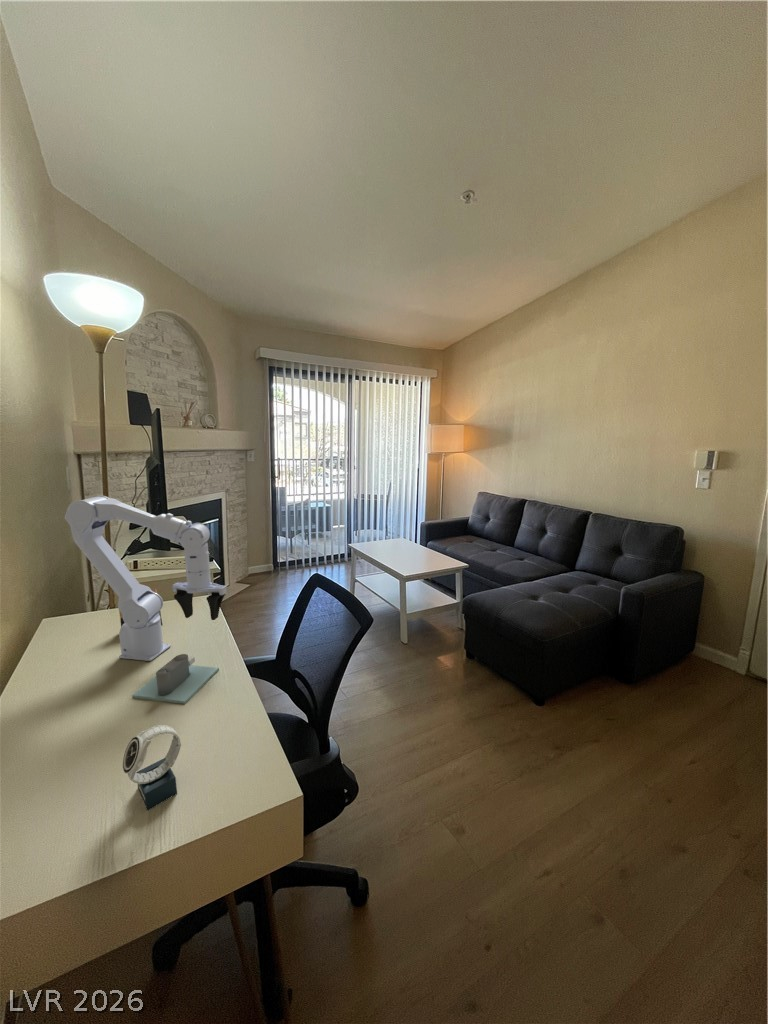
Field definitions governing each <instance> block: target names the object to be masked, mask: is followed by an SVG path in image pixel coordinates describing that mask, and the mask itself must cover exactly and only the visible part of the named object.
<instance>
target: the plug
mask: <svg viewBox="0 0 768 1024" xmlns="http://www.w3.org/2000/svg"><path fill="white" fill-rule="evenodd" d="M195 661H196V660H195V656H189V655H188V654H187V653H181V654H178V655H175V657H173V658H171V660H169V661H168V662H166V664H164V665H163V666H162V667H160V668H159V669H158V670H156V672H155V676H156V680H157V689H158V695H159V696H166V695H168V694H170V693H172V692H173V691H174V690H175V689H176V688H177V687H178V686H179V685H180V684H181V683H182V682H183V681H185V680H186V679H187V678H188V677H189V676H190V673H189V666H190V665H193V664H194V663H195Z"/></svg>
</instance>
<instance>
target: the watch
mask: <svg viewBox="0 0 768 1024" xmlns="http://www.w3.org/2000/svg"><path fill="white" fill-rule="evenodd" d="M165 734H169V735H172V739H171V743H170V747H169V749H168V751H167V753H166V755H165V757H164V758H161V759H159V760H158V761H156V762H153V763H151V764H150V765H148V766H146V767H144V768H142V767H143V765H144V762H145V759H146V757H147V753H148V748H149V745H150V744H151V741H152V739H153V738H155V737H157V736H160V735H165ZM181 747H182V742H181V739H180V736H179V735H178V733H177V731H176V730H175V729H174V727H172V726H170V725H167V724H158V725H154V726H151V727H149V728H146V729H145V730H142V731H141V732H139V734H137V735H136V736H133V737H132V738H131V739H130V741H129V742H128V744H127V746H126V749H125V752H124V755H123V760H122V769H123V773H124V774H127V776H128V778H129V780H130V781H131V782H132V783H134V784H137V789H138V793H139V794H140V797H141V800H142V802H143V804H144V806H146V807H145V809H146V811H147V810H148V811H149V809H150V810H151V809H153V808H154V807H156V805H157V806H159V805H160V804H162V803H163V802H165V801H167V800H169V799H170V797H171V796H172V797H174V796H175V794H176V795H177V794H178V789H177V780H176V775H175V774H174V772H173V770H172V767H173V766H174V764H175V762H176V760H177V759H178V756H179V754H180V750H181ZM172 797H171V798H172ZM168 798H169V799H168ZM166 799H167V800H166ZM161 802H162V803H161Z"/></svg>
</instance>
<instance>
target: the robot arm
mask: <svg viewBox="0 0 768 1024" xmlns="http://www.w3.org/2000/svg"><path fill="white" fill-rule="evenodd" d="M64 520H65V521H66V522H67V523H68V525H69V526H70V528H69V529H70V531H71V536H72V540H73V542H74V543H75V545H76V546H77V547H78V548H79V550H80V551H81V552H82V553H83V554H84V556H85V557H86V559H88V561H89V562H90V563H91V565H92V566H93V567H94V568H95V570H96V571H97V572H98V573H99V575H100V576H101V577H102V578H103V579H104V580H105V582H106V583H107V584H108V585H109V586H110V588H111V589H112V591H113V592H114V593H115V594H116V595H117V597H118V602H117V609H118V611H119V610H120V611H121V613H122V617H123V621H124V622H125V623H124V624H123V625H122V627H121V626H120V629H119V635H118V636H119V645H120V650H121V651H120V652H121V654H120V655H119V658H120V659H126V660H127V659H128V660H136V661H147V662H151V661H154V659H155V658H157V657H158V656H159V655H162V653H164V652H165V651H166V650H167V649H169V648H170V647H171V646H172V644H170V643H164V641H163V632H162V631H163V630H162V629H163V628H162V626H161V620H160V614H159V611H161V610H162V608H163V606H164V599H163V598H162V596H161V595H160V594H157V593H158V592H157V593H155V592H154V590H152V589H151V588H150V587H149V586H147V585H144V584H141V583H140V582H139V581H138V580H137V579H136V577H135V576H134V575H133V573H132V572H131V571H130V570H129V568H128V567H127V566H126V565H125V563H124V562H123V561H122V559H121V558H120V557H119V555H118V554H117V553H116V551H115V550H114V549H113V548H112V546H111V545H110V544H109V543H108V541H107V540H106V539H105V538H104V536H103V534H104V530H105V527H106V525H107V524H108V522H109V521H111V520H121V521H125V522H127V523H131V524H135V525H138V526H141V527H144V528H147V529H148V528H149V529H150V530H151V532H152V534H153V535H155V536H158V537H161V538H163V539H166V540H170V541H173V542H176V543H179V544H180V546H181V547H182V548H184V562H185V572H186V574H185V576H186V581H185V582H176V583H174V584H172V592H174V593H175V594H174V595H173V599H175V600H176V603H178V605H179V606H180V608H181V609H182V612H183V614H184V617H185V618H186V619H188V618H189V619H190V617H192V616H193V614H194V611H193V610H194V608H193V607H194V606H193V597H194V594H196V593H199V594H202V593H203V594H210V595H208V596H207V597H206V601H207V603H208V606H209V611H210V620H211V621H215V620H216V619H218V618H219V613H220V609H221V605H222V602H223V599H224V598H225V595H226V593H228V591H227V585H223V584H222V585H221V584H218V583H214V582H212V581H211V580H212V579H211V567H210V566H211V565H210V554H209V545H208V544H209V543H208V540H209V539H210V537H211V531H210V529H209V528H208V527H207V526H206V525H205V524H203V523H202V522H194V523H192V522H193V521H191V520H188V519H187V520H186V521H185V520H183V519H180V518H177V517H175V516H174V514H172V513H170V512H168V513H161V514H159V515H155V514H151V513H149V512H147V511H144V510H141V509H140V508H136V507H134V506H132V505H129V504H128V503H127V504H126V503H124V502H122V501H121V500H120V501H119V500H118V499H117V498H111V497H108V496H106V495H95V496H93V497H89V498H85V499H81V500H80V499H79V500H74V501H72V502H71V503H70V504H69V505H68V506H67V509H66V512H65V515H64Z"/></svg>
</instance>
